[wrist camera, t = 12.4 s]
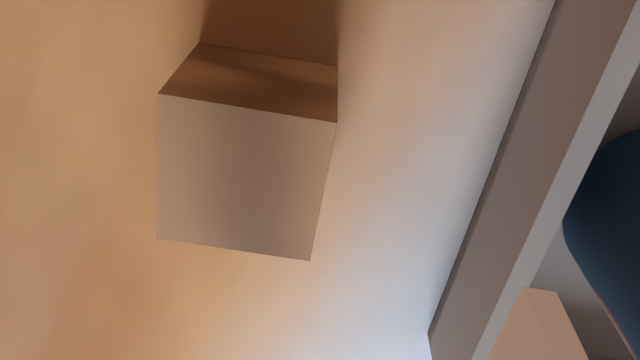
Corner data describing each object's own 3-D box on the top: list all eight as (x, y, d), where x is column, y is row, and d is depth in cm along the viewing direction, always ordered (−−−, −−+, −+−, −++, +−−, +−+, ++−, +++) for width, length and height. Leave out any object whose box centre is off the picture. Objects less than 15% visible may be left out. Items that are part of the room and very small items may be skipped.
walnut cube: (193, 163, 21) (156, 238, 17) (199, 41, 19) (157, 93, 14) (315, 182, 22) (309, 261, 17) (337, 65, 19) (336, 123, 15)
